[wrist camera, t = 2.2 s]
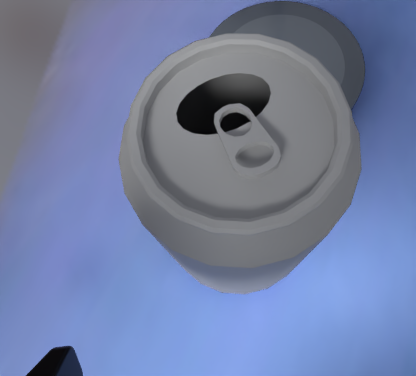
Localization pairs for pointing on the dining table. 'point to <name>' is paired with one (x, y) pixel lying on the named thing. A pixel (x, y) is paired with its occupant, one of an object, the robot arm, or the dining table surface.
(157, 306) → the dining table surface
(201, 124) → the can
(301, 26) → the dish
